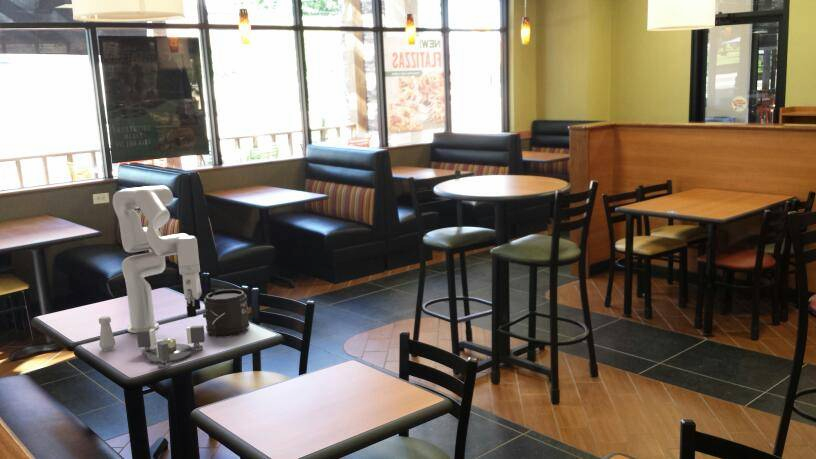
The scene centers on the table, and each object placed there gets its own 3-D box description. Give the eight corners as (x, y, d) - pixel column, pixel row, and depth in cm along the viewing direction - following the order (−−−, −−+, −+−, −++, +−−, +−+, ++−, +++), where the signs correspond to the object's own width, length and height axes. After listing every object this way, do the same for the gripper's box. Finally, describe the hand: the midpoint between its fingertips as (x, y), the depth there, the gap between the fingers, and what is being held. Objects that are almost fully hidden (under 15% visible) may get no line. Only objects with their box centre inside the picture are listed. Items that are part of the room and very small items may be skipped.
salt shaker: (110, 352, 283) (106, 319, 280) (96, 351, 284) (93, 319, 281) (119, 346, 288) (115, 315, 286) (106, 346, 289) (102, 314, 287)
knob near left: (204, 346, 280) (202, 327, 279) (188, 347, 280) (186, 328, 278) (205, 344, 283) (203, 325, 281) (189, 345, 282) (187, 326, 281)
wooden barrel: (203, 327, 308) (200, 291, 306) (246, 322, 314) (244, 286, 311) (205, 340, 292) (202, 302, 289) (251, 334, 297) (248, 296, 294)
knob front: (163, 365, 262) (161, 344, 260) (157, 361, 266) (155, 340, 265) (170, 364, 263) (168, 343, 262) (164, 359, 268) (162, 339, 266)
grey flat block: (140, 349, 280) (138, 330, 279) (156, 348, 281) (154, 328, 279) (138, 351, 278) (136, 332, 276) (155, 350, 278) (153, 330, 277)
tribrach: (143, 351, 282) (141, 334, 281) (204, 346, 284) (202, 330, 283) (130, 370, 262) (128, 353, 260) (195, 365, 264) (193, 348, 263)
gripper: (196, 273, 268) (200, 318, 270) (203, 263, 285) (207, 306, 287) (174, 274, 267) (179, 320, 270) (183, 264, 284) (187, 307, 287)
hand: (194, 313), depth 278 cm, fingers open, 9 cm apart
